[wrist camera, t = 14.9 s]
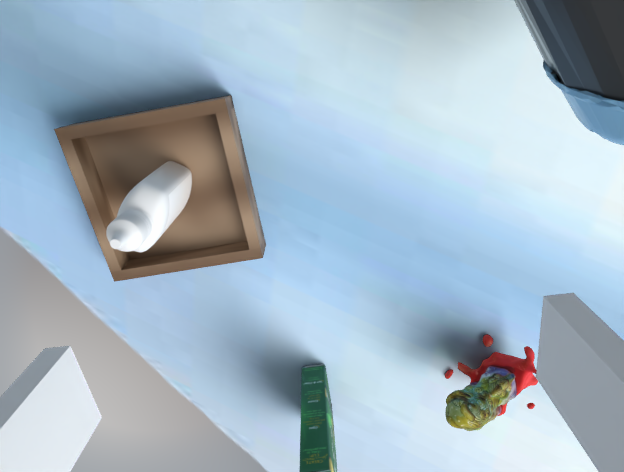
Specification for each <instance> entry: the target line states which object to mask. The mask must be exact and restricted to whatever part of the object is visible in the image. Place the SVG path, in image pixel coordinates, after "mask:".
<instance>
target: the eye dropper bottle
mask: <svg viewBox="0 0 624 472" xmlns="http://www.w3.org/2000/svg"><path fill="white" fill-rule="evenodd" d="M191 187H192V174H191V171H190V170H189V169H188V168H186V167H184V166H182V165H180V164H178V163H176V162H173V161H168V162H166V163H165V164H163V165H162V166H160V167H159V168H158V169H156V170H155V171H154V172H152V173H151V174H150V175H148V176H147V177H146V178H144V179H143V180H142V181H141V182H139V183H138V184H137V185H136V186H135V187H134V188H133V189H132V190H131V191H130V192H129V193H128V194H127V196H126V197H125V199H124V200H123V202H122V204H121V206H120V208H119V211H118V214H117V218H115V219H114V220H113V221H112V222H111V223H110V224H109V225H108V227H107V230H106V234H107V235H106V236H107V239H108V241H109V242H110V246H111V247H112V248H114V249H118V250H121V251H125V252H129V251H130V252H131V251H136V252H144V251H146V250H148V249H149V248H150V247H151V246H153V245H154V244H155V243H156V241H157V240H158V239H159V238H160V237H161V236H162V234H163V233H164V232H165V231H166V230H167V228H168V227H169V226H170V225H171V224H172V222H173V221H174V220H175V219H176V218H177V216H178V215H179V214H180V213H181V211H182V210H183V209H184V207H185V205H186V203H187V201H188V199H189V196H190V192H191Z"/></svg>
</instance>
